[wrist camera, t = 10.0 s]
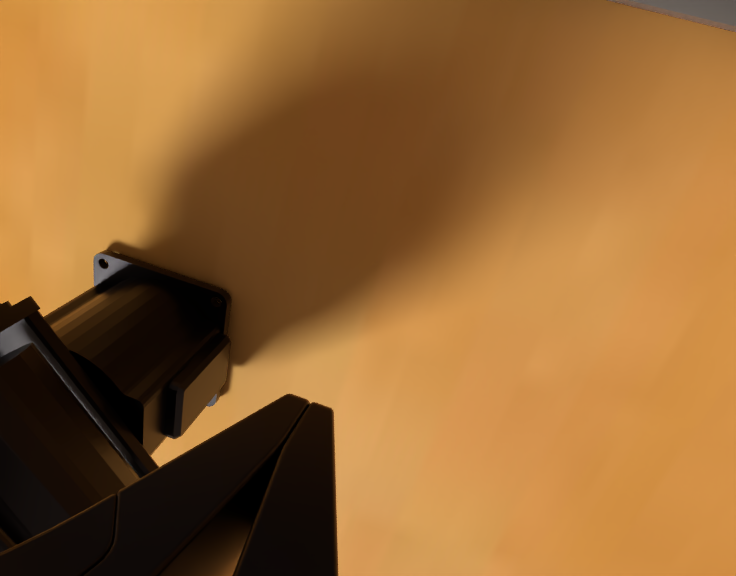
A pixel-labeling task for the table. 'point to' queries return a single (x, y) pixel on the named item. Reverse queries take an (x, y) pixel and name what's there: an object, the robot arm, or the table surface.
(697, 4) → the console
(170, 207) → the table surface
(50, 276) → the table surface
